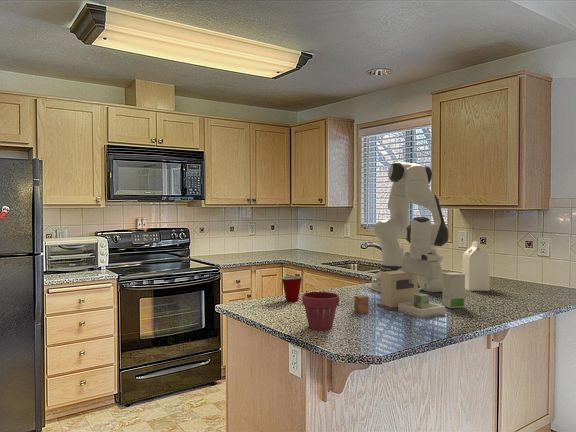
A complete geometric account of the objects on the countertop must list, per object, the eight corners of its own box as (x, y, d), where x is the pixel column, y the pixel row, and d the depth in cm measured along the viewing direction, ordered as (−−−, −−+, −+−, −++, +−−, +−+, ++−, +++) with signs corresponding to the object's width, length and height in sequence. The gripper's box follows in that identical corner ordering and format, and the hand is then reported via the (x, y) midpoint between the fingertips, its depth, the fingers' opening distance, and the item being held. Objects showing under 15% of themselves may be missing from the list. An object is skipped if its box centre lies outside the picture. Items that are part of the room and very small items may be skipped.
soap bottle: (451, 292, 248) (452, 237, 247) (438, 294, 241) (439, 238, 240) (425, 287, 261) (425, 235, 260) (412, 289, 254) (412, 236, 253)
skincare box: (449, 308, 211) (450, 274, 210) (441, 305, 217) (441, 272, 217) (465, 307, 213) (465, 273, 213) (456, 304, 220) (457, 271, 219)
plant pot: (336, 322, 188) (336, 290, 187) (341, 332, 174) (341, 298, 173) (301, 322, 187) (301, 291, 187) (303, 332, 173) (303, 298, 173)
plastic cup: (290, 297, 236) (290, 273, 235) (307, 300, 229) (307, 276, 228) (276, 300, 227) (276, 276, 227) (293, 304, 220) (293, 278, 220)
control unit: (377, 306, 215) (377, 271, 215) (406, 302, 224) (406, 268, 223) (391, 310, 207) (391, 274, 206) (421, 306, 215) (421, 271, 215)
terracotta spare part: (354, 311, 206) (354, 295, 206) (362, 310, 208) (362, 294, 208) (360, 313, 202) (360, 297, 202) (368, 312, 204) (368, 296, 204)
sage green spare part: (413, 310, 204) (413, 294, 204) (421, 308, 206) (421, 293, 206) (421, 312, 200) (421, 296, 200) (428, 311, 202) (428, 295, 202)
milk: (489, 290, 252) (490, 243, 251) (468, 290, 253) (469, 243, 252) (481, 286, 264) (481, 241, 263) (460, 286, 265) (461, 241, 264)
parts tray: (398, 311, 206) (398, 303, 206) (421, 307, 212) (421, 300, 212) (421, 318, 194) (421, 310, 193) (445, 314, 200) (445, 306, 200)
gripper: (398, 251, 210) (397, 281, 211) (431, 257, 192) (430, 290, 193) (409, 251, 213) (408, 280, 214) (442, 257, 195) (441, 289, 196)
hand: (419, 285), depth 203 cm, fingers open, 8 cm apart
